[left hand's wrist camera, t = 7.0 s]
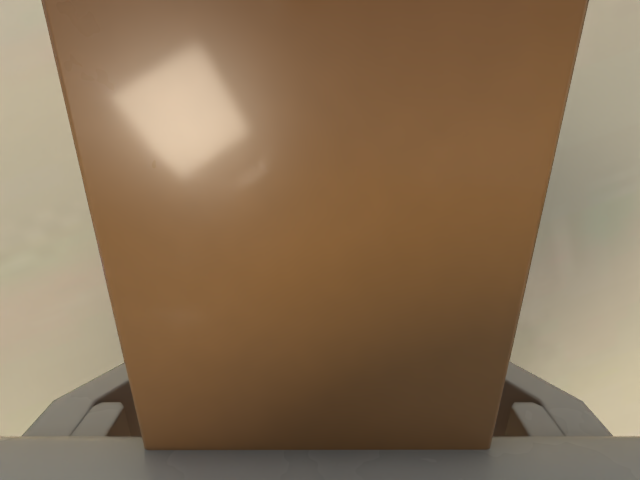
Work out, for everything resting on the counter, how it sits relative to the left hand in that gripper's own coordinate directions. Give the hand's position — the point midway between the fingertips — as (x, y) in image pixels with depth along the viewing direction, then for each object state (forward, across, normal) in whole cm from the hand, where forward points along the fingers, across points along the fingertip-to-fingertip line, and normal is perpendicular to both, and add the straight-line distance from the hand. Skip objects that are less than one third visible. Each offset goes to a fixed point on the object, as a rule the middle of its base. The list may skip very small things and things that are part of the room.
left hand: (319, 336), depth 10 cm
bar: (+3, 0, +9) cm, 9 cm away
